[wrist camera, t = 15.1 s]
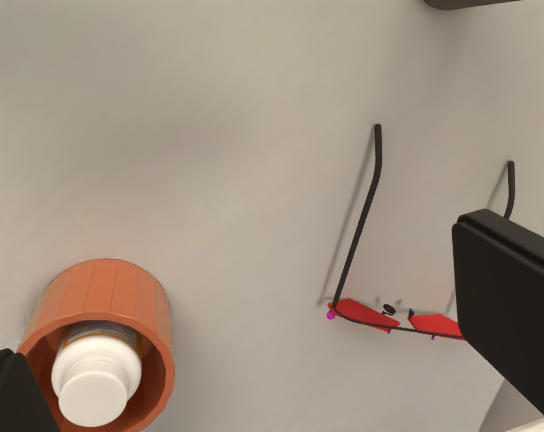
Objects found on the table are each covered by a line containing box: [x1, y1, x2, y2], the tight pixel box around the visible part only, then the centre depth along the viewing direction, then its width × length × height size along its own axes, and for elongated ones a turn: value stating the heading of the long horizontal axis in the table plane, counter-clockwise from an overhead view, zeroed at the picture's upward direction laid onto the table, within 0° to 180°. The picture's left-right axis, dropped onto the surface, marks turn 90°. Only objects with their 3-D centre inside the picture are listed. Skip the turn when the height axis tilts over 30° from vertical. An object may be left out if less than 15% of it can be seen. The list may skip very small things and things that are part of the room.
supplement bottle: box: [51, 320, 142, 427], centre depth 34 cm, size 6×6×10 cm
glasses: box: [327, 124, 515, 341], centre depth 42 cm, size 14×16×5 cm
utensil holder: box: [16, 259, 175, 432], centre depth 36 cm, size 10×10×8 cm
